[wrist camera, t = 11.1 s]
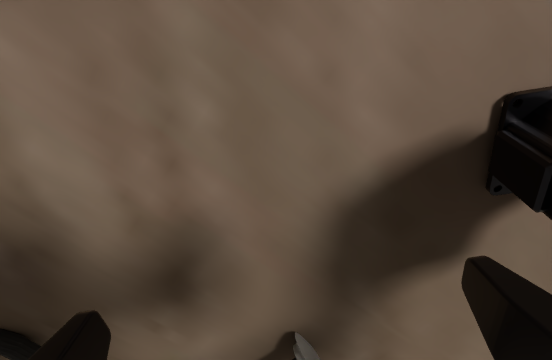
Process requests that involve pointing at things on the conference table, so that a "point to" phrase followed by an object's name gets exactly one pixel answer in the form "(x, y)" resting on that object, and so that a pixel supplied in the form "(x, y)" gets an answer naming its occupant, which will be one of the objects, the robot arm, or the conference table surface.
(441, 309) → the conference table surface
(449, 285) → the conference table surface
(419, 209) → the conference table surface
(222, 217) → the conference table surface
